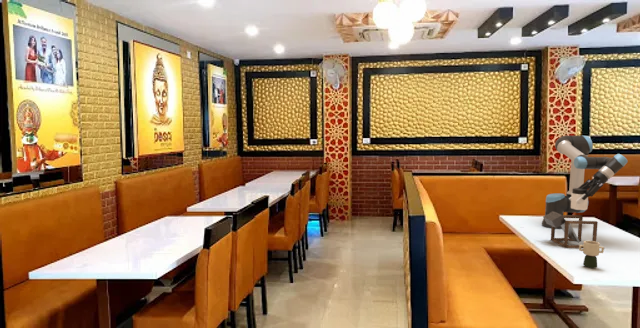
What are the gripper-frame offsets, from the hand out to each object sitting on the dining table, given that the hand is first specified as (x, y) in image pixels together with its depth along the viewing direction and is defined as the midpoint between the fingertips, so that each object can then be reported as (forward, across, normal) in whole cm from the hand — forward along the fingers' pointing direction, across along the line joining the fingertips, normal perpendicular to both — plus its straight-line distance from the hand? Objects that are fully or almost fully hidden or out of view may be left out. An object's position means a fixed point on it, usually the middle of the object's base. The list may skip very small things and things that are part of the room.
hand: (574, 201), depth 282 cm
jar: (+1, 0, -6) cm, 6 cm away
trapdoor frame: (+18, 0, -19) cm, 26 cm away
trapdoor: (+21, 0, -6) cm, 22 cm away
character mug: (+28, -46, -9) cm, 55 cm away
